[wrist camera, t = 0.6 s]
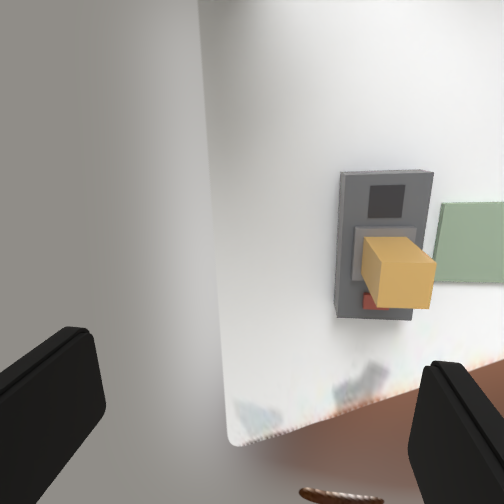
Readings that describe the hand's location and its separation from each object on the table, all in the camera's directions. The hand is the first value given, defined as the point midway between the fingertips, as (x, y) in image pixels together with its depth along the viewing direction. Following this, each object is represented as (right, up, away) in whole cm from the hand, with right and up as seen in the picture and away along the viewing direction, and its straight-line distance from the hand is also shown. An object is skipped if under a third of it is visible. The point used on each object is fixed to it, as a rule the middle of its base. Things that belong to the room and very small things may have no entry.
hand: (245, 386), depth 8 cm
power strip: (+16, +5, +30) cm, 35 cm away
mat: (+28, +5, +29) cm, 40 cm away
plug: (+16, +5, +30) cm, 35 cm away
